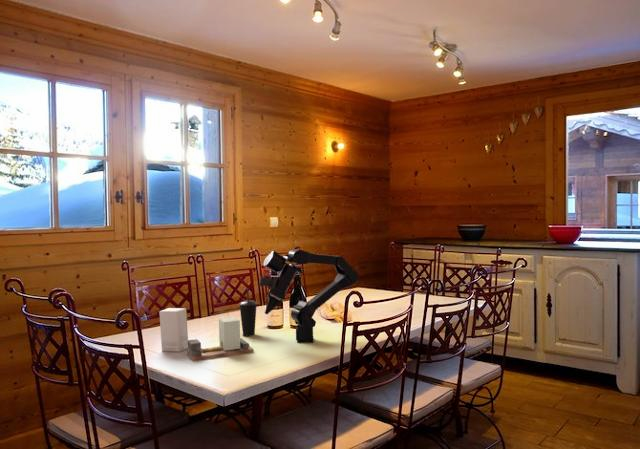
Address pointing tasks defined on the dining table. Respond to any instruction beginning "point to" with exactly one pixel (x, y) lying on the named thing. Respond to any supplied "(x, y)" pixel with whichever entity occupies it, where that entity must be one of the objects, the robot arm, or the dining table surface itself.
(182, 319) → the skincare box
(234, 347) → the tall pale green box
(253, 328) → the drinking cup
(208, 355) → the brown board with bar
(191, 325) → the dining table surface
